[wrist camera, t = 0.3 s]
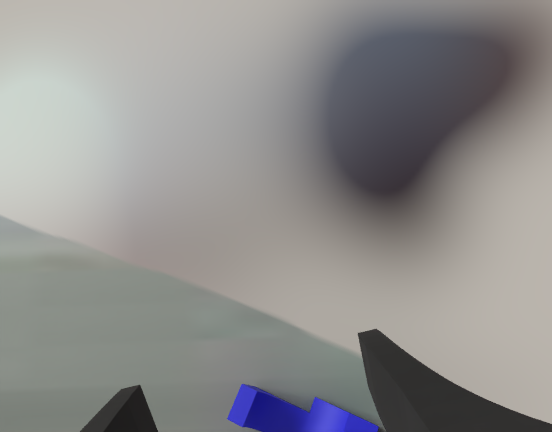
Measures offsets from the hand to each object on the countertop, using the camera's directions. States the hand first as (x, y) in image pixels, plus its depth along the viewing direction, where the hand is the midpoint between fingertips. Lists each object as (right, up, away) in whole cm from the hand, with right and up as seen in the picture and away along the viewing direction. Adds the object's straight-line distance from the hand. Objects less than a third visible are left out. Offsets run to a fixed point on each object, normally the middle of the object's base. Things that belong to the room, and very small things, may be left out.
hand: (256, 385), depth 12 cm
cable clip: (+4, -15, +25) cm, 29 cm away
